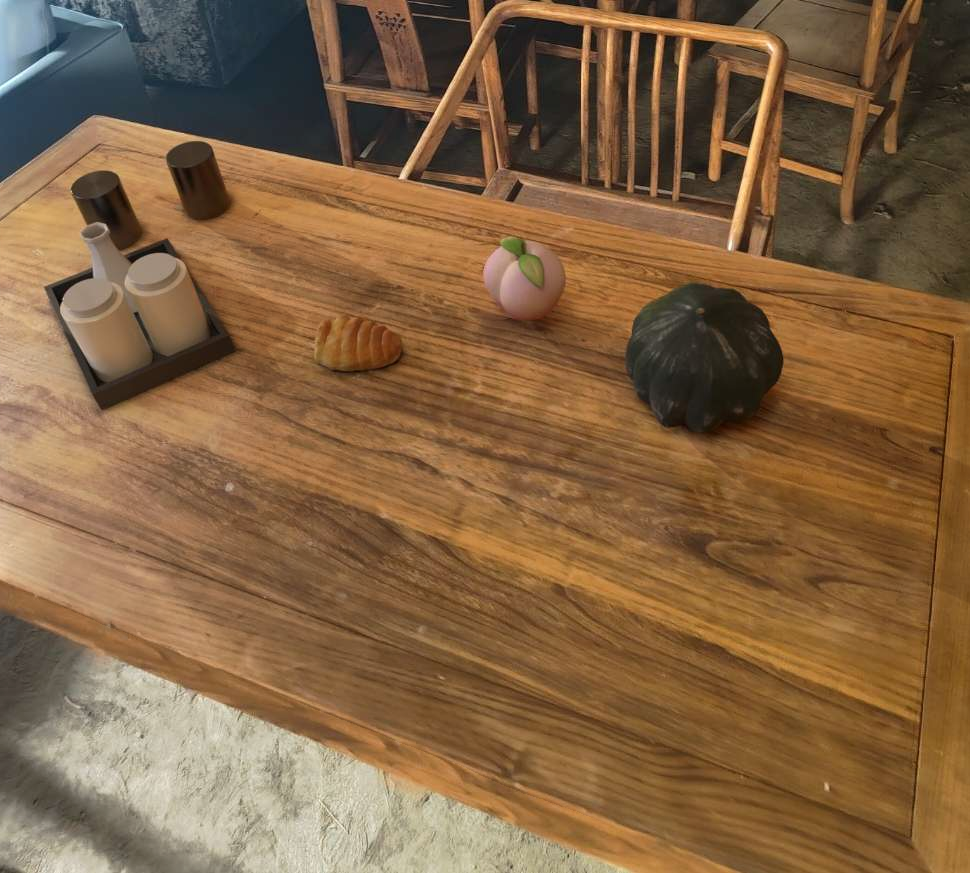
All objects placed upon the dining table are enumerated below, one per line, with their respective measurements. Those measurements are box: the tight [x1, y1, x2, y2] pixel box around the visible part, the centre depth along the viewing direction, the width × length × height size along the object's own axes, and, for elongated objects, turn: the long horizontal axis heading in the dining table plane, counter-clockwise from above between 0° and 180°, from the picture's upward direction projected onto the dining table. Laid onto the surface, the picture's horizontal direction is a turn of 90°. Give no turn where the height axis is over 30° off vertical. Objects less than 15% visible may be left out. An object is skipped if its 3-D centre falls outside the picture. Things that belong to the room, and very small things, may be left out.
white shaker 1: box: [60, 278, 153, 383], centre depth 100 cm, size 7×7×10 cm
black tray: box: [43, 237, 236, 411], centre depth 108 cm, size 22×16×3 cm
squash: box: [624, 282, 785, 435], centre depth 90 cm, size 14×15×15 cm
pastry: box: [313, 314, 403, 372], centre depth 101 cm, size 9×7×4 cm
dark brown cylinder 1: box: [70, 169, 143, 251], centre depth 118 cm, size 6×6×8 cm
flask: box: [78, 222, 137, 313], centre depth 108 cm, size 7×7×10 cm
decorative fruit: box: [482, 236, 567, 322], centre depth 101 cm, size 9×8×10 cm
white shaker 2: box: [125, 253, 211, 356], centre depth 102 cm, size 7×7×10 cm
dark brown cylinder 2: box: [165, 140, 231, 221], centre depth 121 cm, size 6×6×8 cm
